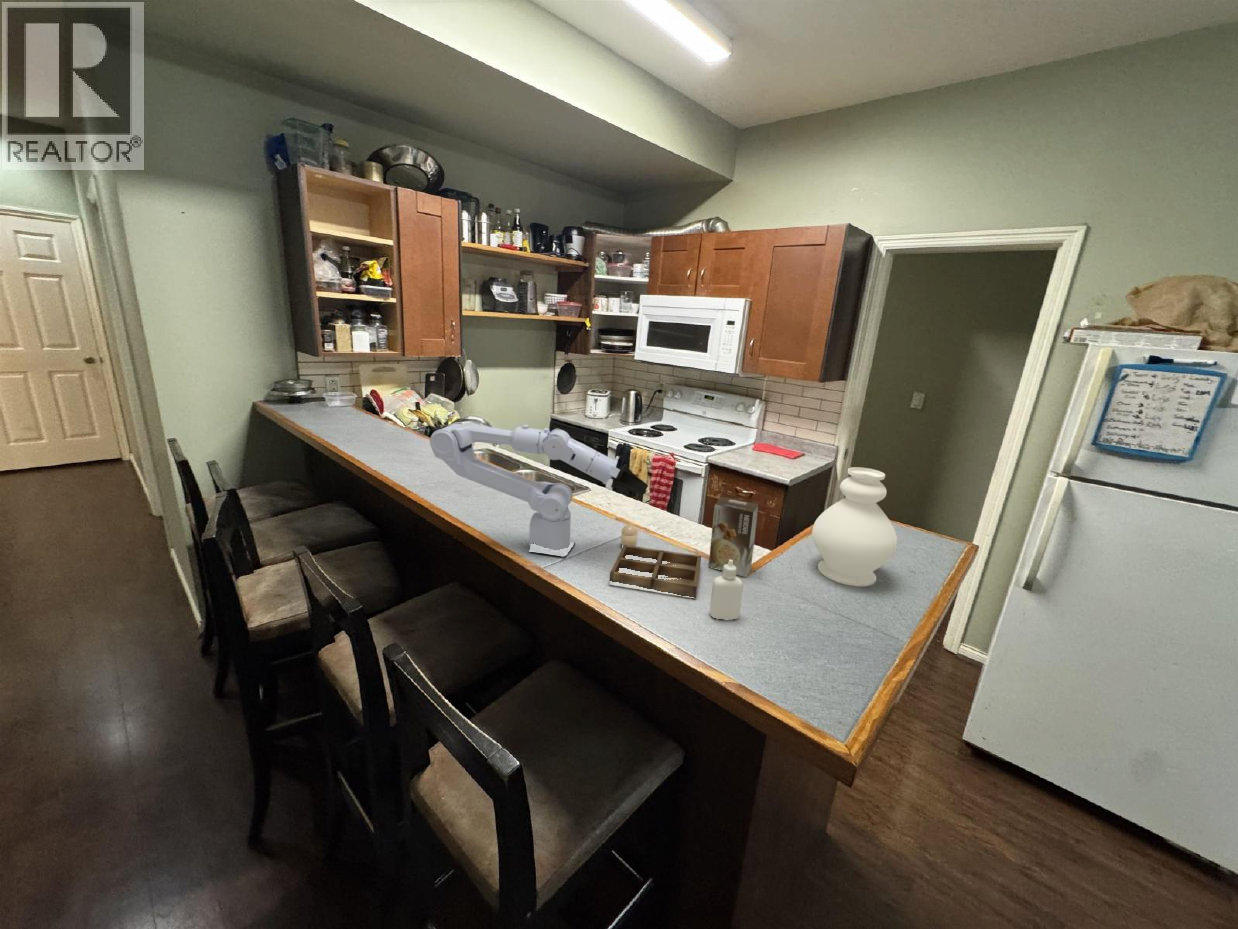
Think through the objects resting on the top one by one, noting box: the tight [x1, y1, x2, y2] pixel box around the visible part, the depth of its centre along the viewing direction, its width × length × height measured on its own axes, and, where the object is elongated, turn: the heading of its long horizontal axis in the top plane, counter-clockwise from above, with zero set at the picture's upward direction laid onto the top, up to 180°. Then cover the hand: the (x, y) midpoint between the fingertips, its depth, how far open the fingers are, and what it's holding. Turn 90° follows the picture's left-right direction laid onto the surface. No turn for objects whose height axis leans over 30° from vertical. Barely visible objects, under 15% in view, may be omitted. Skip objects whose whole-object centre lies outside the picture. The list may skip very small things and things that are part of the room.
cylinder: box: [620, 524, 639, 546], centre depth 122 cm, size 4×4×6 cm
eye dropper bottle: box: [709, 560, 744, 621], centre depth 93 cm, size 4×6×12 cm
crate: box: [609, 545, 702, 599], centre depth 108 cm, size 18×14×3 cm
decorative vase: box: [811, 466, 898, 588], centre depth 112 cm, size 18×18×25 cm
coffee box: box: [708, 496, 760, 578], centre depth 112 cm, size 9×6×16 cm
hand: (643, 489), depth 113 cm, fingers open, 7 cm apart
